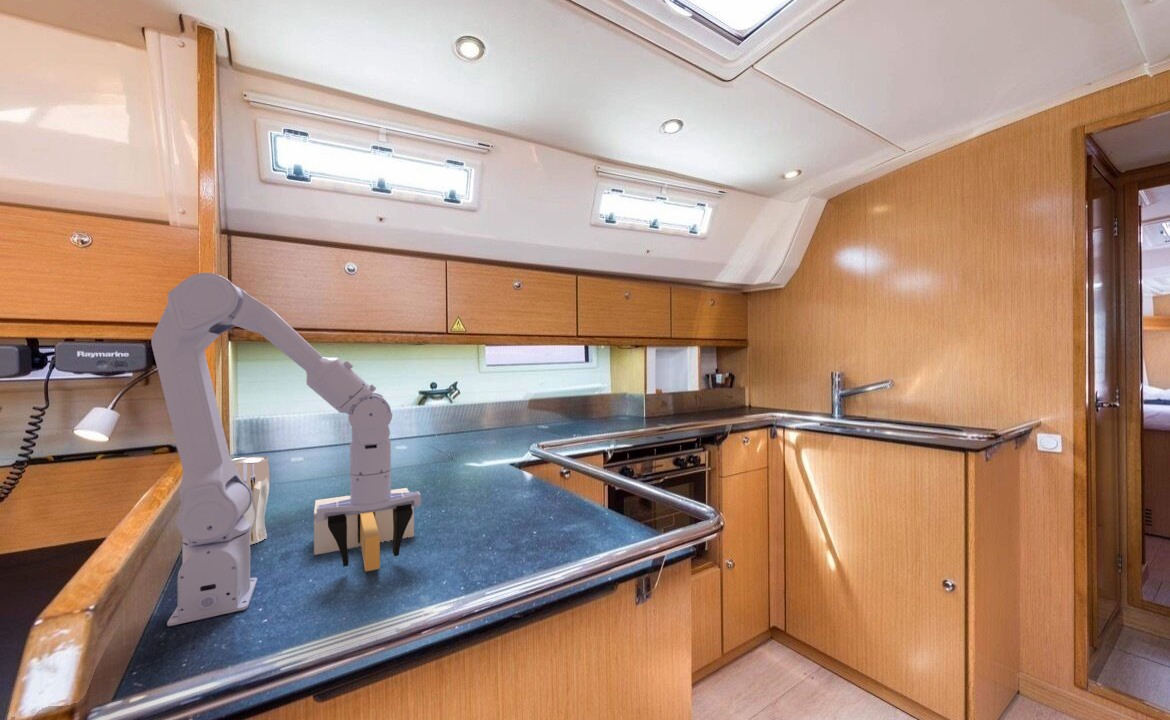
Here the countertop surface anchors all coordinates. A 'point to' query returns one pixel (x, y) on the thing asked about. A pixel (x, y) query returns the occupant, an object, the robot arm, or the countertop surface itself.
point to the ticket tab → (369, 541)
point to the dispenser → (355, 527)
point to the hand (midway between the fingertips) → (371, 558)
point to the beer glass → (255, 492)
